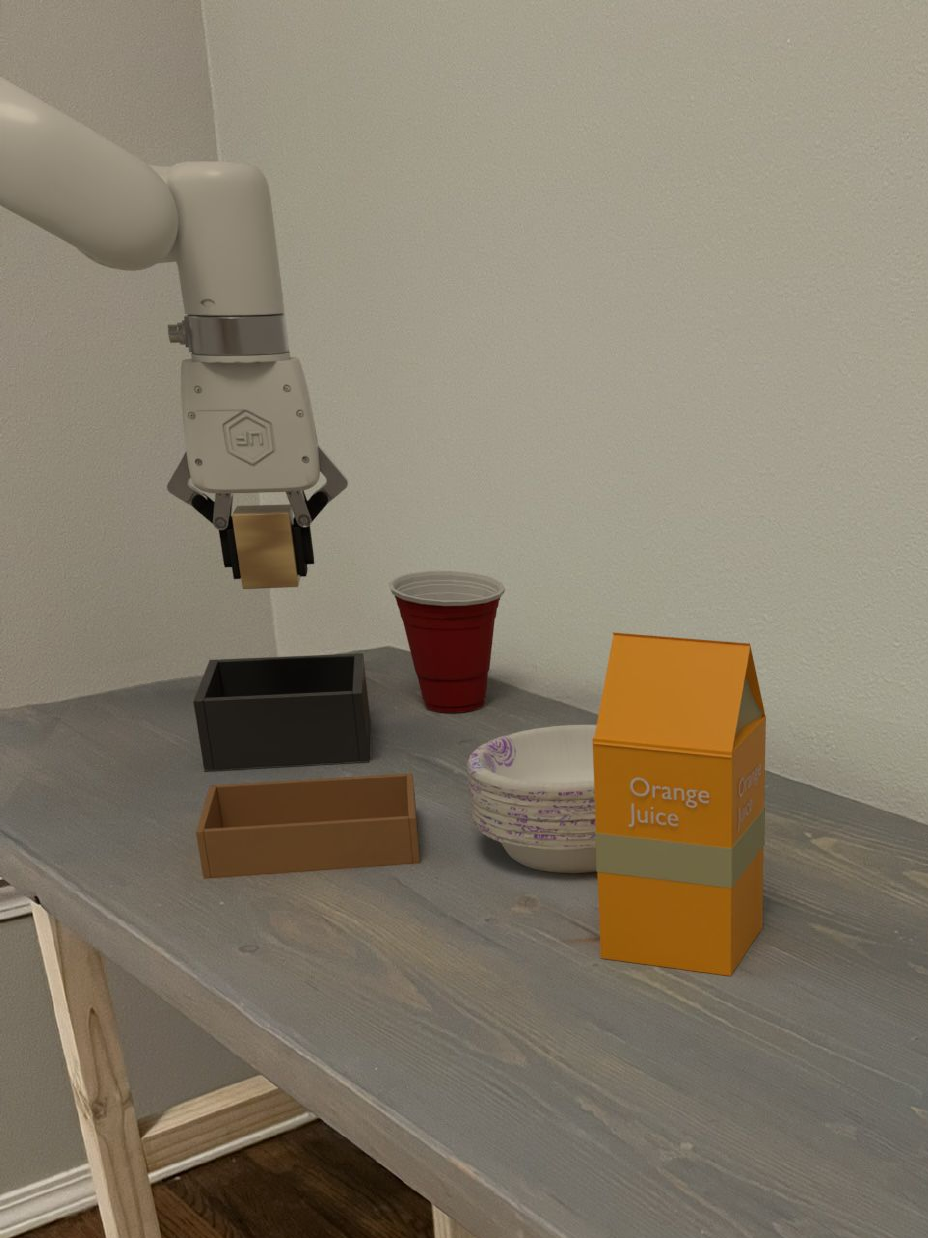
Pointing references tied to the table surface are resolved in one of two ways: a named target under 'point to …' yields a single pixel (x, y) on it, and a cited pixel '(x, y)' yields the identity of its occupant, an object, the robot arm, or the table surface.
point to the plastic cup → (449, 634)
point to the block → (265, 546)
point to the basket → (283, 712)
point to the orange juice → (680, 803)
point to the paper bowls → (538, 796)
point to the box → (308, 825)
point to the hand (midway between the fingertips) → (271, 572)
